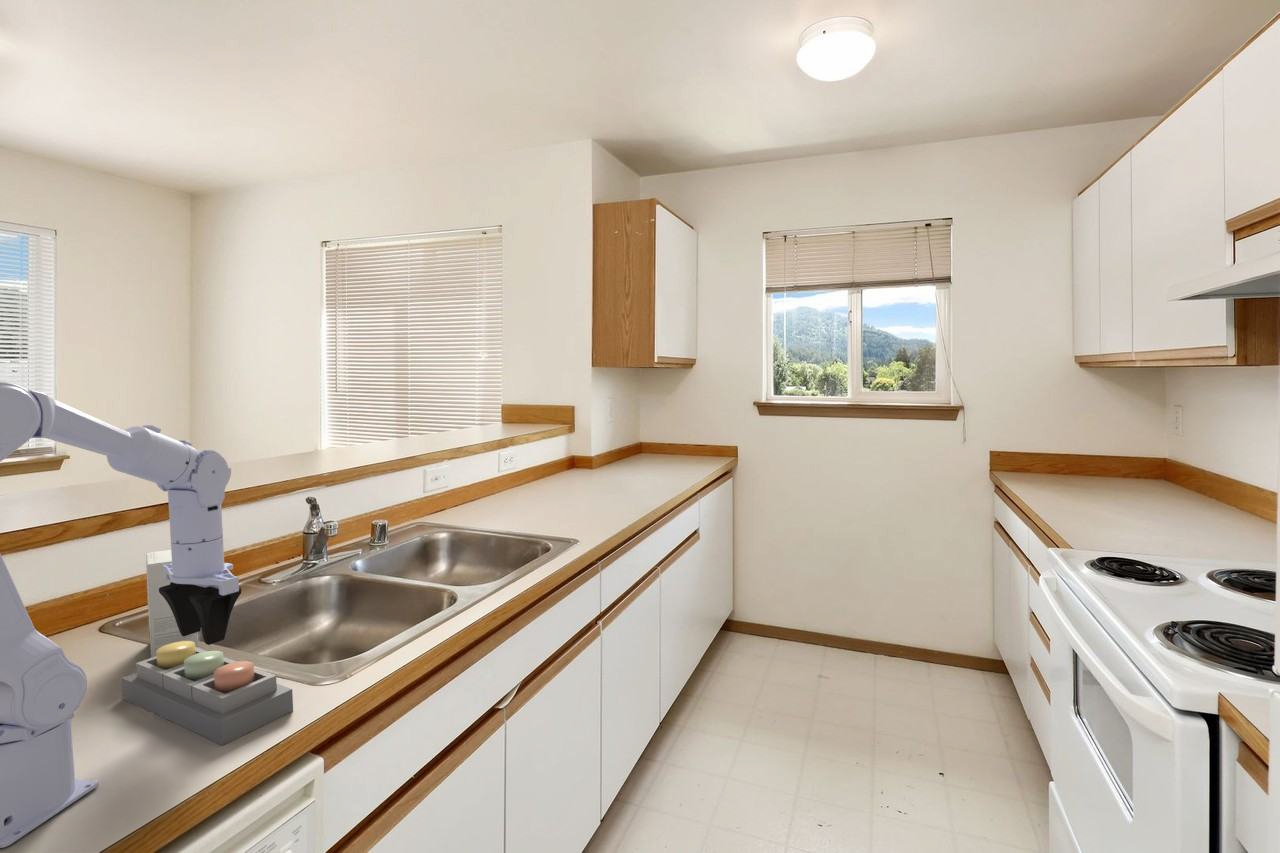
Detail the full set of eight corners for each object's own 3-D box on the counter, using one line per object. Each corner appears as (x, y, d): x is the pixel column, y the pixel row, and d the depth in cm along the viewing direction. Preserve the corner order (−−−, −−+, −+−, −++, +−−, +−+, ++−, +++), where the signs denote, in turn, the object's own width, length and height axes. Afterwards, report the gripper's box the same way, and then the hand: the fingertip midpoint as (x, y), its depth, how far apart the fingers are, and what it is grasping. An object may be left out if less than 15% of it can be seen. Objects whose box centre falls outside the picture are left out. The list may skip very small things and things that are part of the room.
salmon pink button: (261, 680, 83) (261, 665, 83) (227, 694, 79) (226, 679, 79) (242, 672, 85) (241, 658, 85) (207, 687, 81) (206, 672, 81)
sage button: (231, 668, 86) (230, 654, 86) (196, 682, 82) (195, 667, 82) (212, 662, 88) (212, 648, 88) (177, 675, 84) (176, 660, 84)
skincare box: (150, 643, 106) (144, 552, 104) (197, 633, 110) (193, 545, 109) (150, 660, 99) (144, 563, 98) (201, 649, 103) (196, 556, 102)
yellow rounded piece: (202, 658, 89) (201, 644, 89) (167, 671, 86) (166, 656, 85) (185, 652, 91) (184, 638, 91) (150, 664, 88) (149, 650, 87)
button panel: (293, 710, 84) (291, 674, 84) (222, 745, 76) (220, 705, 76) (193, 671, 95) (191, 640, 95) (123, 698, 87) (120, 663, 87)
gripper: (260, 538, 84) (264, 636, 85) (199, 526, 91) (204, 618, 92) (203, 551, 78) (208, 657, 79) (142, 537, 85) (148, 635, 86)
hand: (202, 637), depth 85 cm, fingers open, 5 cm apart
